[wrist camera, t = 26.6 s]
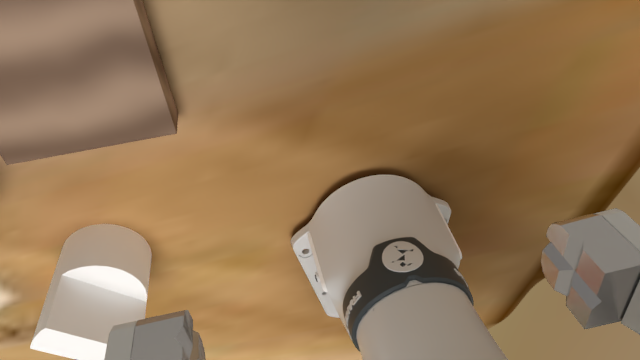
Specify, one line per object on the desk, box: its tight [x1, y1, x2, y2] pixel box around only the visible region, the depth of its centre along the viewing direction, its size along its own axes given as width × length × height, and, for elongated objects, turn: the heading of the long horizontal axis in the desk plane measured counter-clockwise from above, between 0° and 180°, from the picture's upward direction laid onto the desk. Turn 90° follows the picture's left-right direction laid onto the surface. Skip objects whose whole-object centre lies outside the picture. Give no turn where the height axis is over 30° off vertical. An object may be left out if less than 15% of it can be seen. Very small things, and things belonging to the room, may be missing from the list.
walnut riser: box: [0, 0, 178, 165], centre depth 38 cm, size 14×14×4 cm
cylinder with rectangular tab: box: [30, 224, 152, 360], centre depth 47 cm, size 9×9×12 cm
